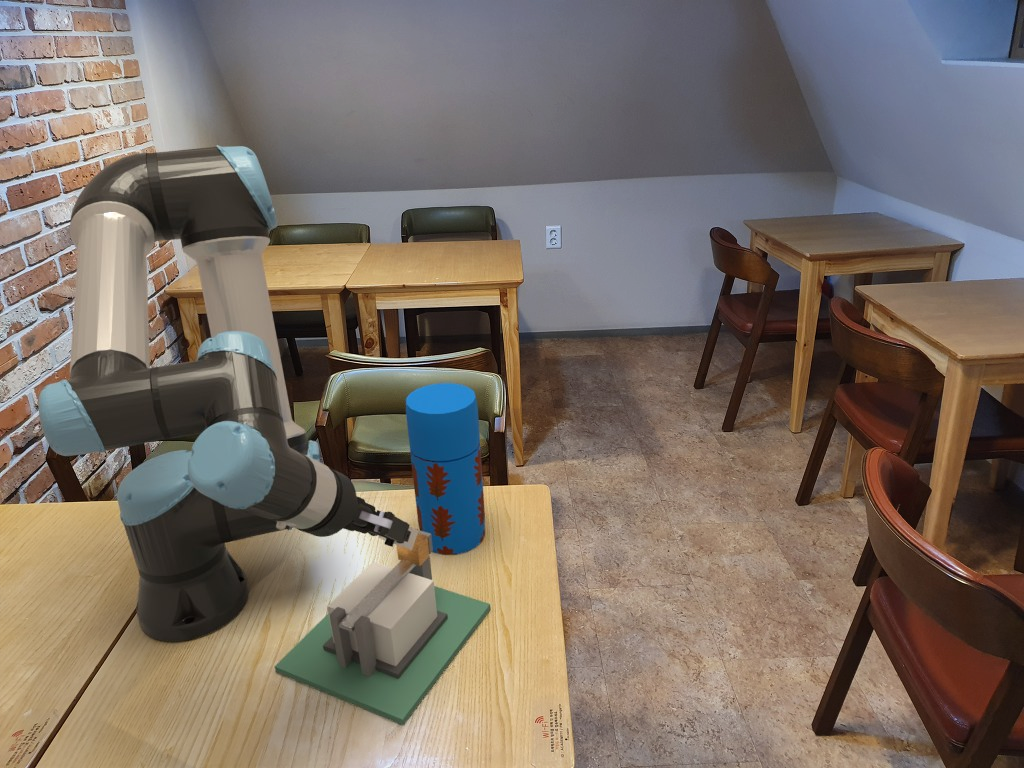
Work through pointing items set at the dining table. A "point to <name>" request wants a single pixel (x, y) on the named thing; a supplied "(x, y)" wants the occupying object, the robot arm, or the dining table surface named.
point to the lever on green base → (386, 642)
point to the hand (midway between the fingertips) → (410, 539)
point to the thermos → (447, 466)
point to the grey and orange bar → (389, 580)
